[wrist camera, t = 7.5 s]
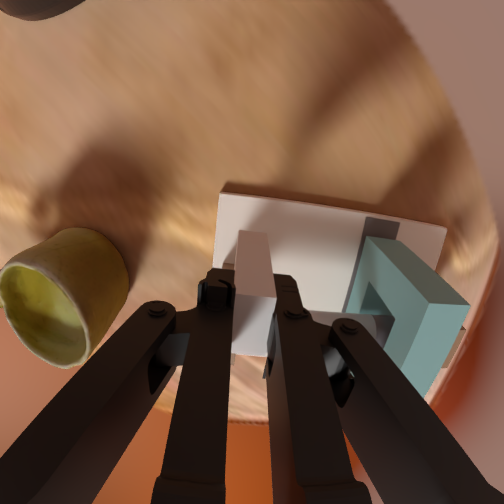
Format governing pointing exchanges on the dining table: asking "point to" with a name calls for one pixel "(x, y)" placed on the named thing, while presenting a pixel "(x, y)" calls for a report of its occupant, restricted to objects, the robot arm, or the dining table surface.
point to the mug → (64, 294)
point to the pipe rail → (322, 250)
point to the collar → (408, 308)
